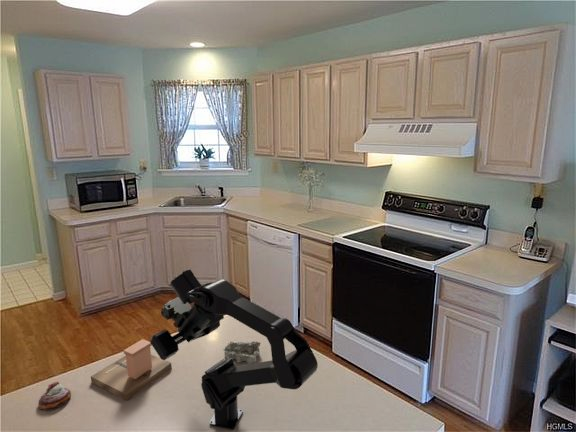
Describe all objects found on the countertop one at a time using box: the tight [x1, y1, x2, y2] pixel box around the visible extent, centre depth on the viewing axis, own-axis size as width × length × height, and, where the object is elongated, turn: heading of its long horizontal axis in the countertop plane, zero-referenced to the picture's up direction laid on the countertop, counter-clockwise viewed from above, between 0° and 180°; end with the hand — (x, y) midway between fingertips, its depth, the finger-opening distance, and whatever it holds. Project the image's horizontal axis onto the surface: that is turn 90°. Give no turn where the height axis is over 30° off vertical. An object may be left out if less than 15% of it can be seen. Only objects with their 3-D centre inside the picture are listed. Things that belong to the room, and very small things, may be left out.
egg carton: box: [222, 341, 261, 364], centre depth 125 cm, size 11×8×4 cm
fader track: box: [90, 354, 172, 401], centre depth 116 cm, size 15×16×2 cm
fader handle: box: [123, 338, 153, 379], centre depth 113 cm, size 4×7×8 cm, turn 150°
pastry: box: [37, 381, 72, 411], centre depth 105 cm, size 8×8×5 cm
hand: (175, 347), depth 106 cm, fingers open, 9 cm apart
